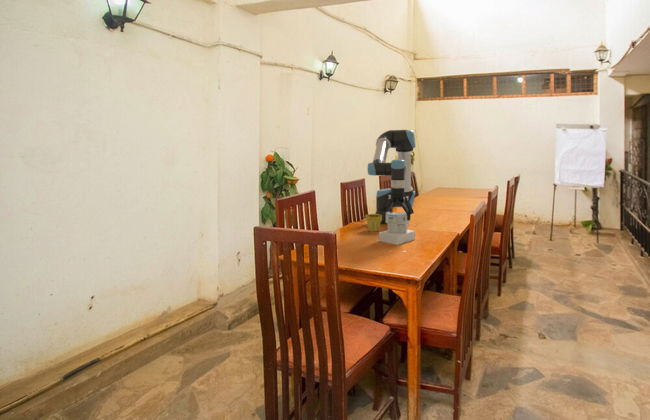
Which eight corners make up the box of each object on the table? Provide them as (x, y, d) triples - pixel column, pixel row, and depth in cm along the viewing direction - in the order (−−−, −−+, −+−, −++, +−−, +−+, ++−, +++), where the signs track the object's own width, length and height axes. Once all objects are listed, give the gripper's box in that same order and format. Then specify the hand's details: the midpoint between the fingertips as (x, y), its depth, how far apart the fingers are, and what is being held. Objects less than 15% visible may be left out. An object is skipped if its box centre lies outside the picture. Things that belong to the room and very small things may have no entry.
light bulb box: (405, 230, 232) (406, 212, 231) (407, 233, 226) (407, 214, 224) (387, 230, 233) (387, 212, 232) (387, 232, 227) (388, 214, 225)
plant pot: (377, 232, 251) (377, 217, 249) (362, 231, 256) (362, 216, 255) (384, 229, 259) (384, 214, 258) (369, 228, 265) (369, 213, 263)
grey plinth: (378, 241, 229) (378, 232, 228) (396, 236, 241) (396, 227, 240) (397, 244, 220) (397, 235, 219) (415, 239, 232) (415, 230, 231)
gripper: (376, 186, 232) (375, 222, 235) (412, 189, 214) (412, 228, 217) (384, 185, 237) (383, 220, 240) (420, 188, 219) (419, 226, 223)
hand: (397, 224), depth 229 cm, fingers open, 13 cm apart
